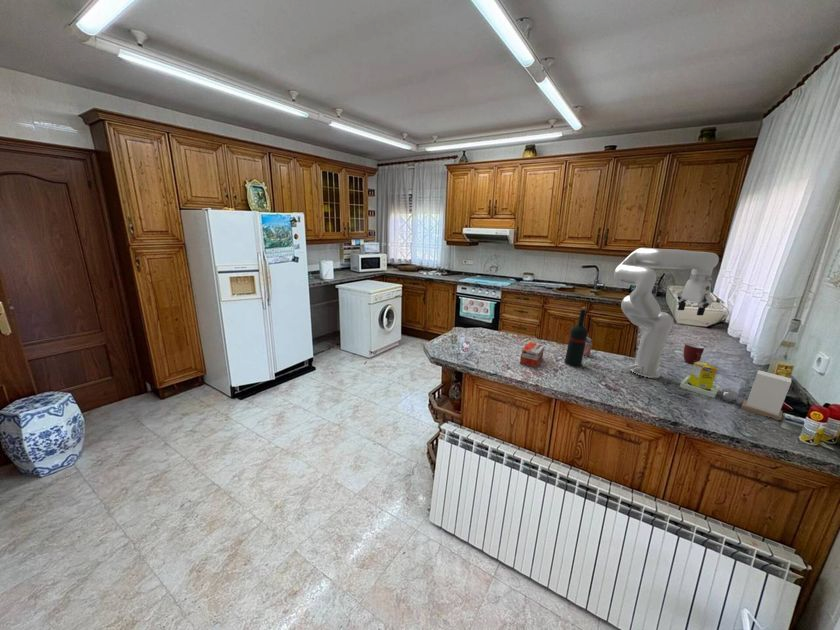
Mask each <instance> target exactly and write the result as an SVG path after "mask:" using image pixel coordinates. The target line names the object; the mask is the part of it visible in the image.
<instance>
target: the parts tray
mask: <svg viewBox="0 0 840 630" xmlns="http://www.w3.org/2000/svg"><path fill="white" fill-rule="evenodd" d="M689 378H690V376H685V378H684V379H683V380H682V381H681V382H680V385H679V388H680V387H681V389H683V390H686V391H690V392H694V393H697V394H699V395H703V396H706V397H709V398H713V399H715V397H716V396H717V394H718V393H719V390H720V385H717V384H714V383H713V384H712V387H711V391H707V390H704V389H701V388H698V387H694V386H691V385H689V384H688V381H689Z"/></svg>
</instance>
